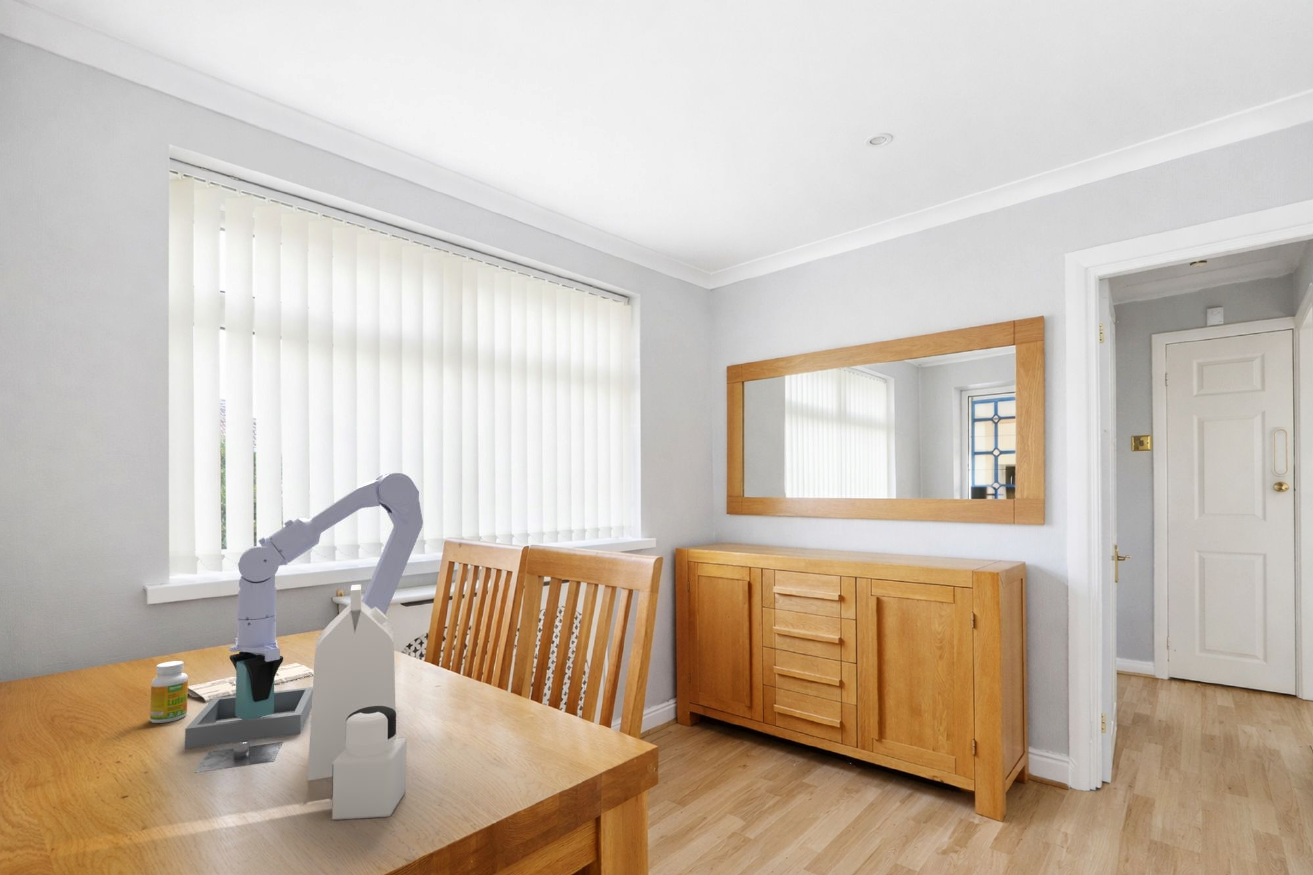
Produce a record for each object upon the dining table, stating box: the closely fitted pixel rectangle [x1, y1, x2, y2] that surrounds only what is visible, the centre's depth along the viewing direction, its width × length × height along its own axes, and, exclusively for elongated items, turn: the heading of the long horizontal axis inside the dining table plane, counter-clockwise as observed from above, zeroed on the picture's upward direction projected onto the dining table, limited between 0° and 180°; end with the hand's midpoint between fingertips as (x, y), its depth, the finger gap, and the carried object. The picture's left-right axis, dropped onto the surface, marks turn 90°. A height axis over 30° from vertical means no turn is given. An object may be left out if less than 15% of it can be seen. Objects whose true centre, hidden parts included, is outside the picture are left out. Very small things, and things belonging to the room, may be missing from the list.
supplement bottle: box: [149, 660, 189, 724], centre depth 121 cm, size 5×5×10 cm
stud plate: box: [193, 740, 284, 774], centre depth 100 cm, size 10×8×3 cm
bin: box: [184, 686, 313, 750], centre depth 114 cm, size 16×16×4 cm
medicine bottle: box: [331, 706, 407, 821], centre depth 87 cm, size 7×7×12 cm
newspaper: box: [187, 662, 314, 704], centre depth 141 cm, size 23×12×2 cm, turn 145°
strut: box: [235, 658, 275, 720], centre depth 114 cm, size 4×4×9 cm
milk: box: [307, 583, 397, 782], centre depth 100 cm, size 12×12×26 cm
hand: (255, 697), depth 114 cm, fingers closed on strut, 4 cm apart
